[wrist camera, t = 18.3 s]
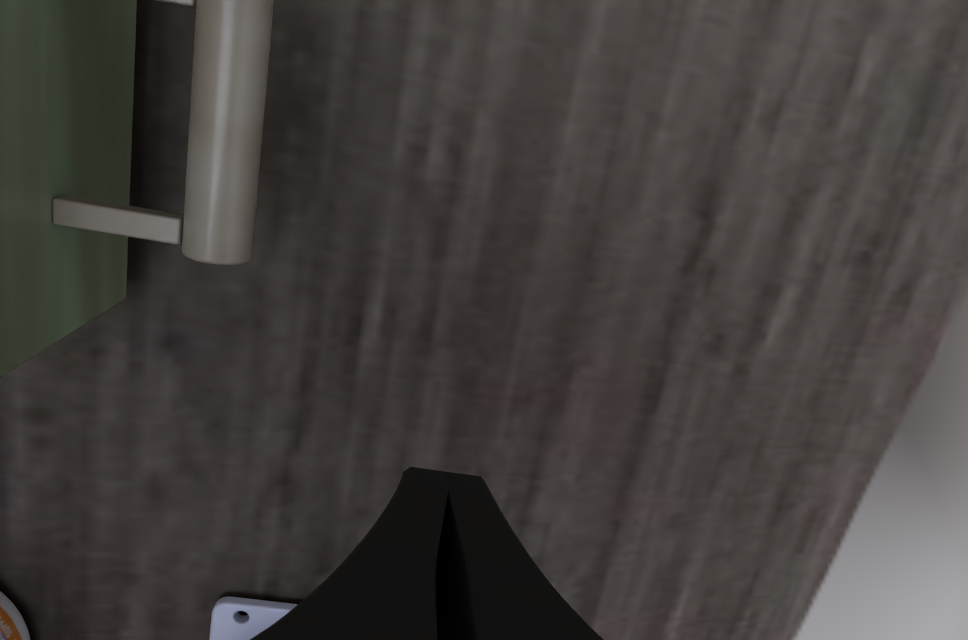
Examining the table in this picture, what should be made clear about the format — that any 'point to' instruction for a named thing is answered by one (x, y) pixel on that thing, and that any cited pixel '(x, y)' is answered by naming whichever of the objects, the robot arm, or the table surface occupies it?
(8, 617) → the pill bottle
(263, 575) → the table surface
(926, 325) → the table surface
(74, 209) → the drawer
